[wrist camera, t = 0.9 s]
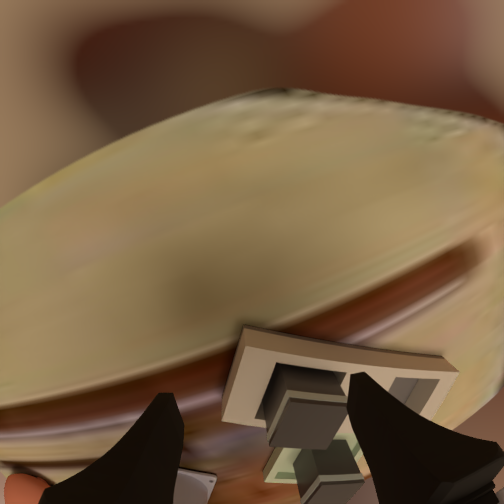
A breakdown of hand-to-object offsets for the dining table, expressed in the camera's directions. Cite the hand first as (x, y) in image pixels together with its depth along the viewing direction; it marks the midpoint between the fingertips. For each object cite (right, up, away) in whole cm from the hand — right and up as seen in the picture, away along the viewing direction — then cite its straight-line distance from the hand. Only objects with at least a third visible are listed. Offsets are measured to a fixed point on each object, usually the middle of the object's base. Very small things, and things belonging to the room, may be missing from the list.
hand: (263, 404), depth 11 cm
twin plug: (+3, -4, +12) cm, 13 cm away
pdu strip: (+8, -5, +13) cm, 16 cm away
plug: (+6, -14, +14) cm, 21 cm away
